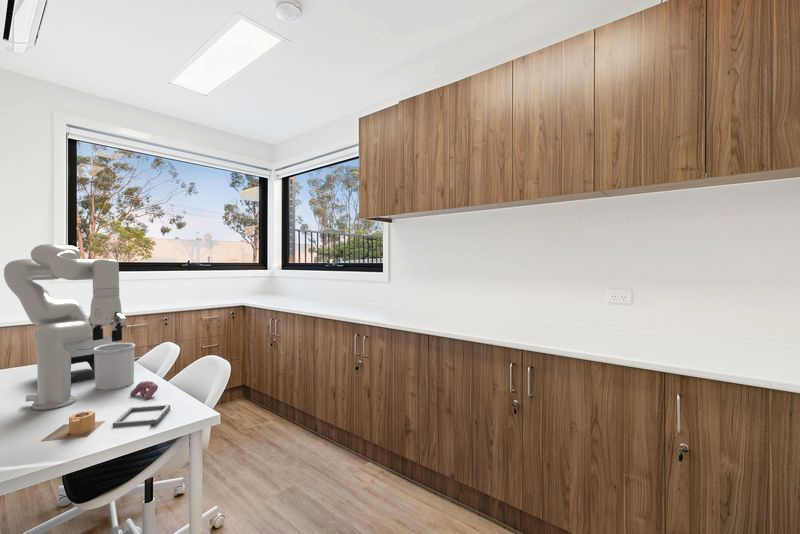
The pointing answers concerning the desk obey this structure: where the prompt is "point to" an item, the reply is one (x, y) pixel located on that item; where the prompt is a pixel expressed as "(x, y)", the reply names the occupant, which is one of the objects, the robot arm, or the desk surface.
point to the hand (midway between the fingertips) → (107, 340)
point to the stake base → (64, 433)
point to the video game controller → (145, 389)
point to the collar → (81, 422)
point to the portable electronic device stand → (85, 357)
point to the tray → (140, 422)
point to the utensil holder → (114, 365)
